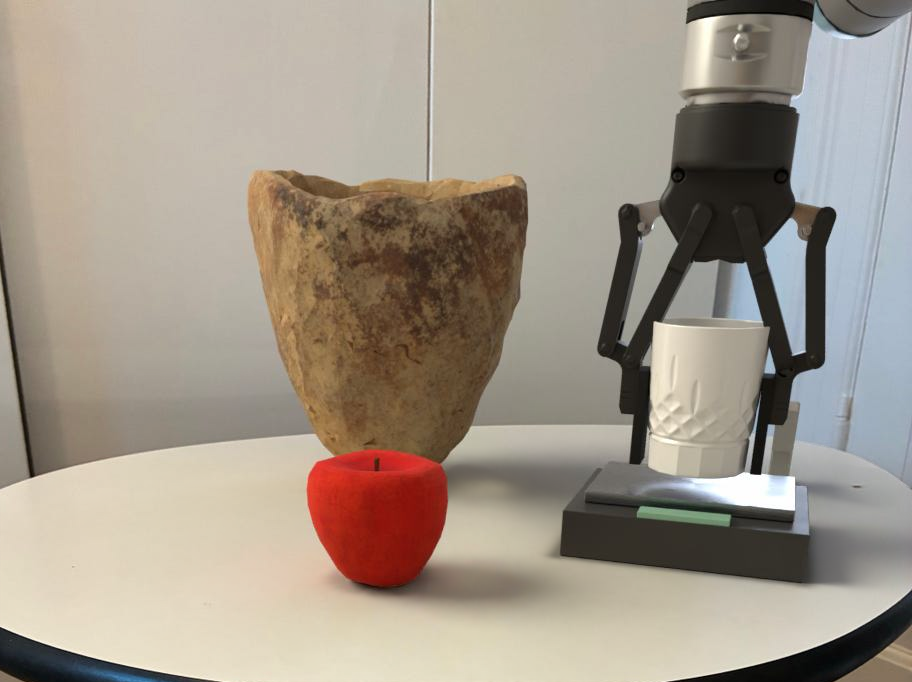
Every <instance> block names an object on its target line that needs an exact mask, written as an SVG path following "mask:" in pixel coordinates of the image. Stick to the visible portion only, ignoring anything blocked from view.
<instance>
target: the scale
mask: <svg viewBox="0 0 912 682" xmlns="http://www.w3.org/2000/svg"><path fill="white" fill-rule="evenodd" d="M603 468H604V467H603ZM603 468H602V467H598V468H596V470H594V472H593V473H592V474H591V475H590V477H589V478H588V479H587V480H586V481H585V483H584V484H583V485H582V487H581V488H580V489H579V490H578V491H577V493H576V494H575V495H574V496H573V498H572V499H571V500H570V501H569V502H568V503H567V505H566V506H565V508H564V509H562V514H561V515H562V516H561V532H560V542H559V543H560V545H559V556H566V557H576V558H585V559H593V560H601V561H610V562H619V563H627V564H636V565H646V566H653V567H654V566H655V567H663V568H672V569H678V570H679V569H681V570H690V571H696V572H697V571H698V572H705V573H706V572H707V573H716V574H723V575H732V576H733V575H734V576H740V577H750V578H760V579H767V580H768V579H769V580H776V581H787V582H793V583H803V582H804V576H805V568H806V562H807V557H808V550H809V546H810V539H811V529H810V528H811V527H810V526H811V525H810V510H809V509H810V508H809V489H808V486H806V485H796V484H795V500H796V512H795V518H794V522H786V521H776V520H766V519H756V518H746V517H735V516H731V515H727V514H717V513H706V512H696V511H686V510H676V509H665V508H655V507H645V506H641V507H634V506H623V505H613V504H603V503H593V502H585V501H584V500H585V491H586V490H587V488H588V487H589V486H590V485H591V483H592V482H593V481H594V480H595V478H596V477H597V476H598V475H599V473H600V472H601V471H602V469H603Z"/></svg>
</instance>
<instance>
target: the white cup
mask: <svg viewBox="0 0 912 682" xmlns="http://www.w3.org/2000/svg"><path fill="white" fill-rule="evenodd" d="M769 330H770V327H764V326H763V322H762V321H757V320H748V319H738V318H725V317H702V316H701V317H697V316H694V317H693V316H691V317H690V316H687V317H685V316H684V317H683V316H682V317H681V316H680V317H679V316H678V317H665V318H664V320H663V322H662V323H660V322H656V321H655V322H654V326H653V337H652V343H651V345H650V365H649V366H650V380H649V390H650V395H649V404H648V410H649V417H648V427H647V429H648V430H649V433H648V447H647V448H648V450H647V464H648V467H649V468H651V469H653V470H655V471H657V472H659V473H664V474H668V475H673V476H678V477H687V478H697V479H721V478H729V477H736V476H738V475H740V474H742V473H745V469H746V467H747V466H746V465H747V460H748V454H749V447H750V442H751V441H750V437H751V436H752V434H753V431H754V429H755V424H756V420H757V419H756V418H757V414H758V410H759V404H760V397H761V390H762V382H763V376H764V373H766V367H767V362H768V357H769V356H768V355H769V351H770V348H769V344H768V336H769Z"/></svg>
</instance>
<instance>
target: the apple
mask: <svg viewBox="0 0 912 682" xmlns="http://www.w3.org/2000/svg"><path fill="white" fill-rule="evenodd" d="M448 491H449V489H448V475H447V473H446V472H445V470H444V467H443V465H442V463H441V464H439V463H436V462H433V461H431V460H428V459H426V458H424V457H421V456H417V455H413V454H409V453H404V452H398V451H393V450H375V449H370V450H363V451H356V452H352V453H348V454H344V455H339V456H336V457H335V456H333V457H328V458H325V459H320V460H317V461H316V462H315V464H314V465H313V467H312V468H311V470H310V471H309V473H308V475H307V482H306V500H307V501H306V502H307V509H308V511H309V516H310V519H311V522H312V525H313V528H314V530H315V534H316V535H317V537H318V539H319V542H320V543H321V545H322V547H323V549H324V550H325V551H326V553H327V554H328V556H329V557H330V560H331V561H332V563H333V565H334V566H335V568H336V569H337V570H338V571H339V572H340V573H341V574H342V575H343V576H344V577H345V578H346V579H348V580H350V581H352V582H356V583H360V584H365V585H370V586H374V587H379V588H390V587H399V586H402V585H404V584H407V583H410V582H412V581H414V580H415V579H416V578H417V577H418V576H420V574H421V573H422V572H423V570H424V568H425V567H426V565H427V564H428V562H429V560H430V559H431V557H432V556H433V553H434V551H435V550H436V547H437V546H438V543H439V542H440V540H441V538H442V534H443V532H444V528H445V525H446V520H447V514H448V505H449V493H448Z"/></svg>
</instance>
